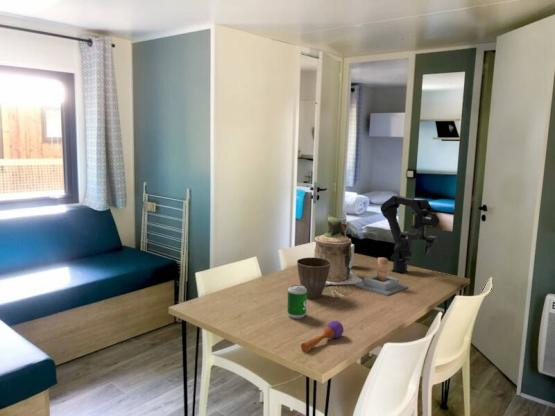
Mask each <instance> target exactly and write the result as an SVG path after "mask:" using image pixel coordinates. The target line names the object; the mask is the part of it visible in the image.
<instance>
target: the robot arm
mask: <svg viewBox="0 0 555 416" xmlns="http://www.w3.org/2000/svg"><path fill="white" fill-rule="evenodd" d="M401 205H403V206H405V207H406V206H407V207H409V208H411V209H412V210H413V211H411V212H410V213H411V214H412V215H413V225H412V226H411V229H409V230H408V231H407V230H405V231H402V230H401V227H400V224H399V220H398V218H397V215H398V209H399V208H400V206H401ZM380 211H381V214H382V216H383V217H384V218H385V219H387V220H386V221H387V222H388V226H389V229H390V231H391V232H390V233H391V235H392V238H393V241H394V247H393V251H394V252H393V253H392V254H391V256H390V259H391V261H392V262H393V265H392V266H393V267H392V269H391V272H394V273H398V274H404V273H407V272H409V270H408V264H407V262H408V261H410V259H411V257H412V254H413V253H412V244H413V241H417V240H421V241H425V242H424V244H425V250H424V255H425V256H427V255H428V254H429V252H430V250H431V249H432V247H433V245H435V244H436V243H439V237H438V236H436V235H429V236H427V233H426V228H427V227H431V228H436V227H438V225H439V224H440V218H439V216H437V213H435V212H433V209H432V207H431V205H430V203H429V200H428V199H426V198H417V199H414V198H410V197H406V196H402V195H400V194H399V195H391V197H390V198H389V199H387V200H386V201H384V202H383V203H382V204H381V206H380Z"/></svg>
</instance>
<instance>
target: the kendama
mask: <svg viewBox="0 0 555 416" xmlns="http://www.w3.org/2000/svg"><path fill="white" fill-rule="evenodd" d="M343 333H344V326H343V324H342V323H341V322H340V321H338V320H331V321H329V322H328V323H327V325H326V327H325V328H324V331H323V334H321V335H320V336H316V337H314V338H312V339H309V340H308V341H304V342H303V343H301V344H300V348H301V351H302V352H304V353H307V354H308V353H309V352H310V351H311V350H312V349H313V348H315V347H316V346H317V345H318V344H319V343H320V342H322V341H323V340H324V339H336V338H337V339H338V338H340V337H341V336H342V335H343Z"/></svg>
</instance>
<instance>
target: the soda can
mask: <svg viewBox="0 0 555 416" xmlns="http://www.w3.org/2000/svg"><path fill="white" fill-rule="evenodd" d="M307 299H308V298H307V289H306V288H305V287H304V286H302V285H301V284H292V285H290V286H289V287H288V289H287V306H286V307H287V311H286V313H287V315H288V316H289V317H290V318H291V319H295V320H297V319H298V320H299V319H300V320H301V319H303V318H304V317H305V316H306V315H307Z"/></svg>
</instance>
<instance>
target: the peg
mask: <svg viewBox="0 0 555 416" xmlns="http://www.w3.org/2000/svg"><path fill="white" fill-rule="evenodd" d="M376 269H377V270H376V274H377V280H378V281H381V282H385V281H386V276H388V275H387V273H388V258H387V257H377V267H376Z"/></svg>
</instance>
